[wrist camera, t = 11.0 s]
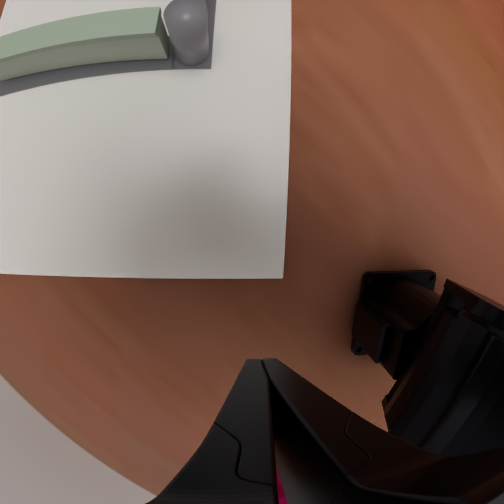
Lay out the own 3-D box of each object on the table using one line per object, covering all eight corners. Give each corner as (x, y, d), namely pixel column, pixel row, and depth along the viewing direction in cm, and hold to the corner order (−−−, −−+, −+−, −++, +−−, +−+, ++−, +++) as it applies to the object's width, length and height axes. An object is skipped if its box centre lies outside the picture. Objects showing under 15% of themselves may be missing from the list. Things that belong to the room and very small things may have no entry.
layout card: (287, -63, 15) (306, -110, 9) (281, 275, 21) (305, 313, 15) (23, -33, 12) (-8, -63, 6) (-10, 270, 18) (-57, 297, 13)
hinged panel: (170, 39, 16) (159, 6, 11) (167, 61, 16) (154, 33, 12) (5, 63, 14) (-30, 47, 10) (1, 83, 15) (-36, 71, 10)
